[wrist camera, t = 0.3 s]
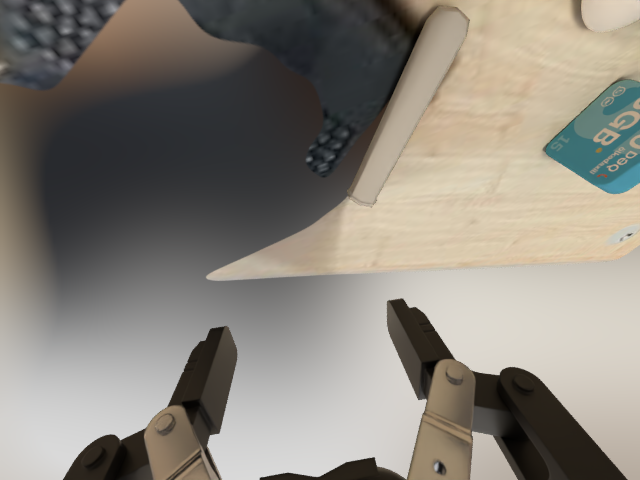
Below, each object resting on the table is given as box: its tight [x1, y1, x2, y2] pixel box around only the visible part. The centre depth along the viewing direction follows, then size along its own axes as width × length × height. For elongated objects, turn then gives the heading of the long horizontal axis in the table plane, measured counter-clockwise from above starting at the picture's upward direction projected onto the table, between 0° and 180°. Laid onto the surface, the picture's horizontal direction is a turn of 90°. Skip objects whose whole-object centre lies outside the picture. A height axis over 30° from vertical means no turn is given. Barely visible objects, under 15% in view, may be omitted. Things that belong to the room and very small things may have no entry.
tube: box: [347, 6, 470, 207], centre depth 35 cm, size 5×5×25 cm
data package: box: [546, 80, 640, 194], centre depth 36 cm, size 12×4×12 cm, turn 156°
